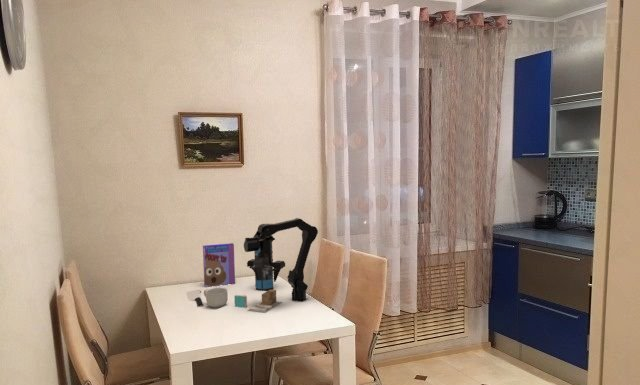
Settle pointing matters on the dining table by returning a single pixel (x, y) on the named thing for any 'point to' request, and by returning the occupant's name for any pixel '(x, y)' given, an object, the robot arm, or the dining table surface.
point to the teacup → (216, 297)
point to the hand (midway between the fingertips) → (266, 281)
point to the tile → (240, 301)
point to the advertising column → (264, 276)
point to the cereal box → (218, 264)
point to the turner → (266, 301)
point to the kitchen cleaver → (195, 297)
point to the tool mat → (269, 309)
